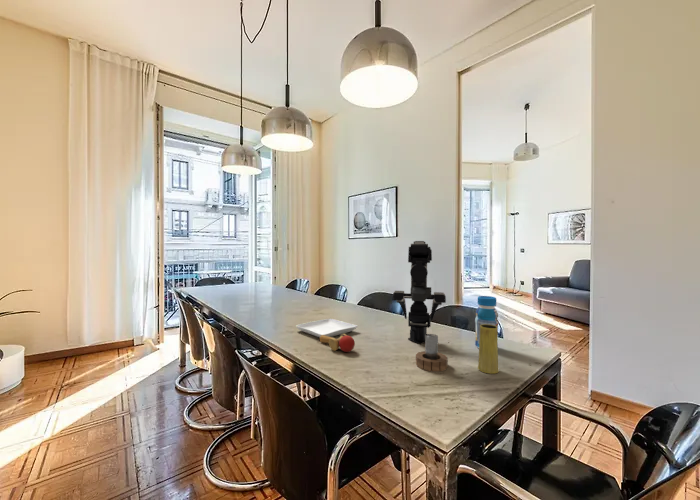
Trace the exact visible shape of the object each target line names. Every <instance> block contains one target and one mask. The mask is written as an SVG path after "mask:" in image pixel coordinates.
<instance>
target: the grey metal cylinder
mask: <svg viewBox="0 0 700 500" xmlns="http://www.w3.org/2000/svg"><path fill="white" fill-rule="evenodd" d="M424 343H425V349H424V351H425V358H426V359H430V360H438V352H439V351H438V350H439V346H438V345H439V344H438V343H439V336H438V335H437V334H434V333H427V334H426V337H425V342H424Z"/></svg>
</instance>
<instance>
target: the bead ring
mask: <svg viewBox="0 0 700 500" xmlns="http://www.w3.org/2000/svg"><path fill="white" fill-rule="evenodd" d="M448 360H449V359H448V356H447V355H446V354H443V353H441V352H439V351H438V360H430V359H426V358H425V350H424V351H423V350H422V351H418V352H417V353H416V354H415V366H417V368H419V369H421V370H424V371H428V372H443V371H446V370H447V369H448V367H449V365H448Z"/></svg>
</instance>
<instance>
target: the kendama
mask: <svg viewBox="0 0 700 500" xmlns="http://www.w3.org/2000/svg"><path fill="white" fill-rule="evenodd" d="M319 342H320V343H325V344H328V345H329V347H330V349H331V350H332V351H334V352H336V351H338V350H339V348H340V350H341V351H342V352H344V353H350V352H352V351H353V349H354V348H355V345H356V344H355V339H354V338H353V337H352V336H351V335H347V333H345V334H341V335H339V337H338V338H335V337H328V336H325V335H321V336H320V337H319Z"/></svg>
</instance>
